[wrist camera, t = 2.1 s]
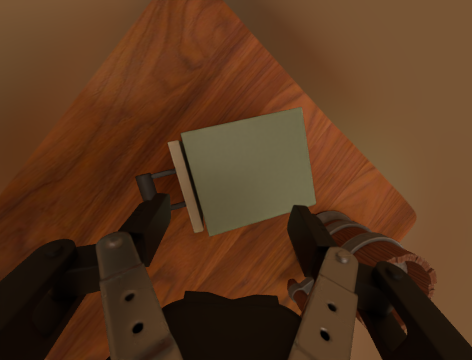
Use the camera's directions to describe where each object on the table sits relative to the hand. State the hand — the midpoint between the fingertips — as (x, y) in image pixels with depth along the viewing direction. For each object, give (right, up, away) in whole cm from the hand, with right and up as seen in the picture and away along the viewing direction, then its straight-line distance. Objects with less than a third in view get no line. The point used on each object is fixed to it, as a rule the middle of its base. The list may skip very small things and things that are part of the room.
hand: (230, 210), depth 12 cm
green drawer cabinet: (+1, +5, +21) cm, 21 cm away
